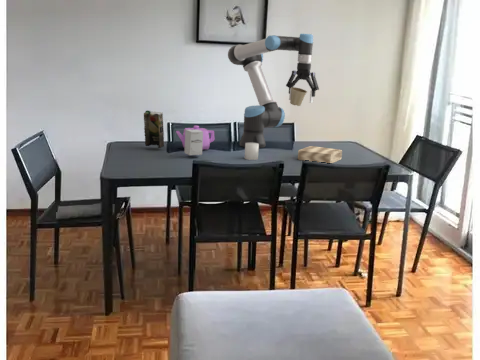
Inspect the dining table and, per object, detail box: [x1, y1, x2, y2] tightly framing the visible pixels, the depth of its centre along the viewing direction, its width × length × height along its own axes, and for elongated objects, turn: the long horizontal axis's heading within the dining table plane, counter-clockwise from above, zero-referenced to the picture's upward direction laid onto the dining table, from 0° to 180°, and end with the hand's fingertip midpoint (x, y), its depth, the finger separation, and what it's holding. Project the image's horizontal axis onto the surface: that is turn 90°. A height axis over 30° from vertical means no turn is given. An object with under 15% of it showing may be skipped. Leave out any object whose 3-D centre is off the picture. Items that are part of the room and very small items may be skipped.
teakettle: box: [175, 125, 215, 150], centre depth 320 cm, size 17×17×12 cm
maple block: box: [297, 145, 343, 164], centre depth 305 cm, size 18×18×5 cm
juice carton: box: [143, 110, 165, 149], centre depth 314 cm, size 20×10×6 cm
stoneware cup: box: [244, 142, 260, 161], centre depth 296 cm, size 7×7×8 cm
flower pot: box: [289, 86, 308, 107], centre depth 322 cm, size 9×9×9 cm
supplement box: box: [184, 130, 203, 156], centre depth 300 cm, size 7×7×13 cm
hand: (301, 101), depth 321 cm, fingers open, 13 cm apart
